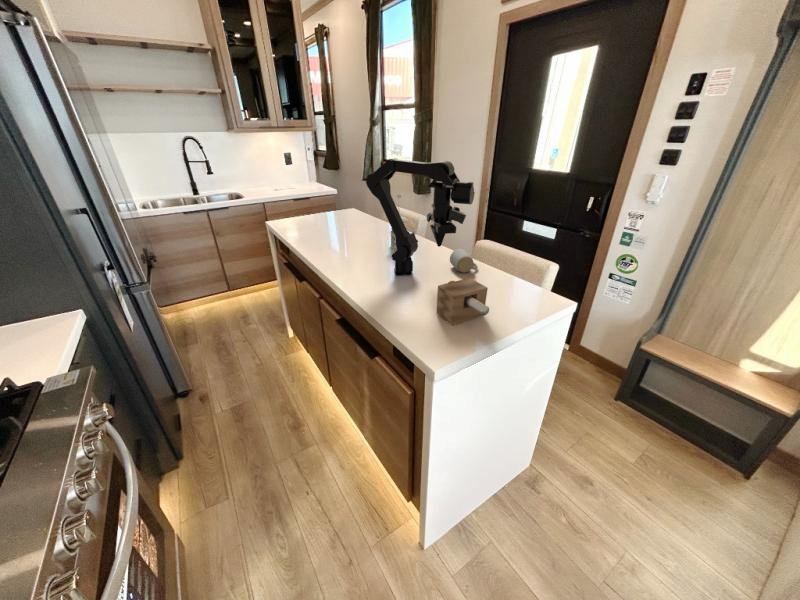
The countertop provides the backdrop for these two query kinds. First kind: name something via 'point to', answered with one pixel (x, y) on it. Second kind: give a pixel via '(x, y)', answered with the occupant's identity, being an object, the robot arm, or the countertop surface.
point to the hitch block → (459, 300)
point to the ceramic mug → (462, 261)
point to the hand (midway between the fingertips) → (439, 246)
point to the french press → (393, 244)
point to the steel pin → (475, 304)
